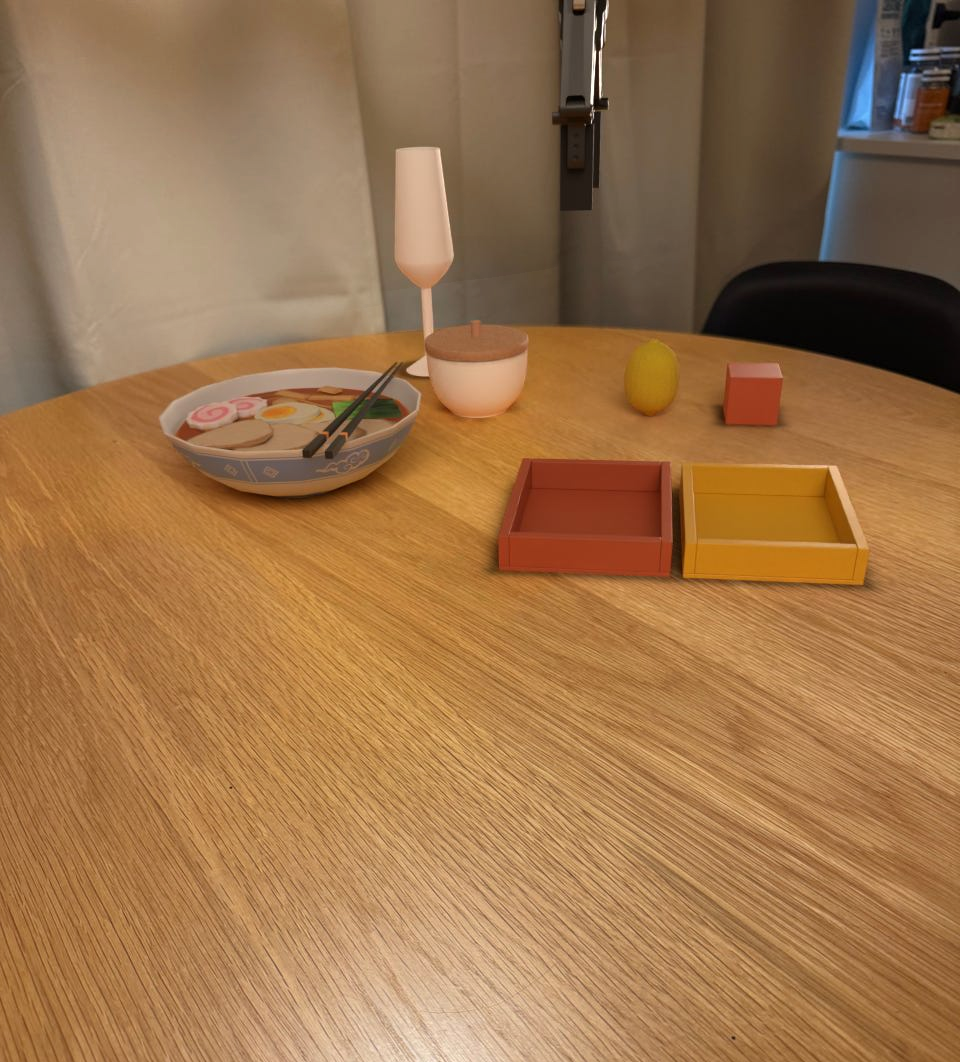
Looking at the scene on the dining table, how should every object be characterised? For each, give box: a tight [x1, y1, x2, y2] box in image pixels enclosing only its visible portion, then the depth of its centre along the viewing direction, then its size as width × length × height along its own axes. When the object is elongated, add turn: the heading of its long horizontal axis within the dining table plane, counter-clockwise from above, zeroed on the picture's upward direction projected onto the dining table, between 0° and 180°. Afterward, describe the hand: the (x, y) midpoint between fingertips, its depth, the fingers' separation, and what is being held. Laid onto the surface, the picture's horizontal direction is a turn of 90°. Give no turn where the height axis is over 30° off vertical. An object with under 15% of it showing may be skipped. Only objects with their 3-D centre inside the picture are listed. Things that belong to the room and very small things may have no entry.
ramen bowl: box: [157, 361, 422, 499], centre depth 89 cm, size 25×23×8 cm
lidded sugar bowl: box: [424, 319, 530, 419], centre depth 105 cm, size 11×11×9 cm
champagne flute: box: [393, 146, 455, 377], centre depth 114 cm, size 7×7×24 cm
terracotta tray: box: [497, 457, 674, 578], centre depth 80 cm, size 13×16×3 cm
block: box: [722, 362, 784, 426], centre depth 101 cm, size 5×5×5 cm
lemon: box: [623, 338, 681, 417], centre depth 102 cm, size 6×6×8 cm
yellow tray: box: [679, 461, 871, 586], centre depth 78 cm, size 13×16×3 cm
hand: (581, 198), depth 92 cm, fingers open, 13 cm apart
